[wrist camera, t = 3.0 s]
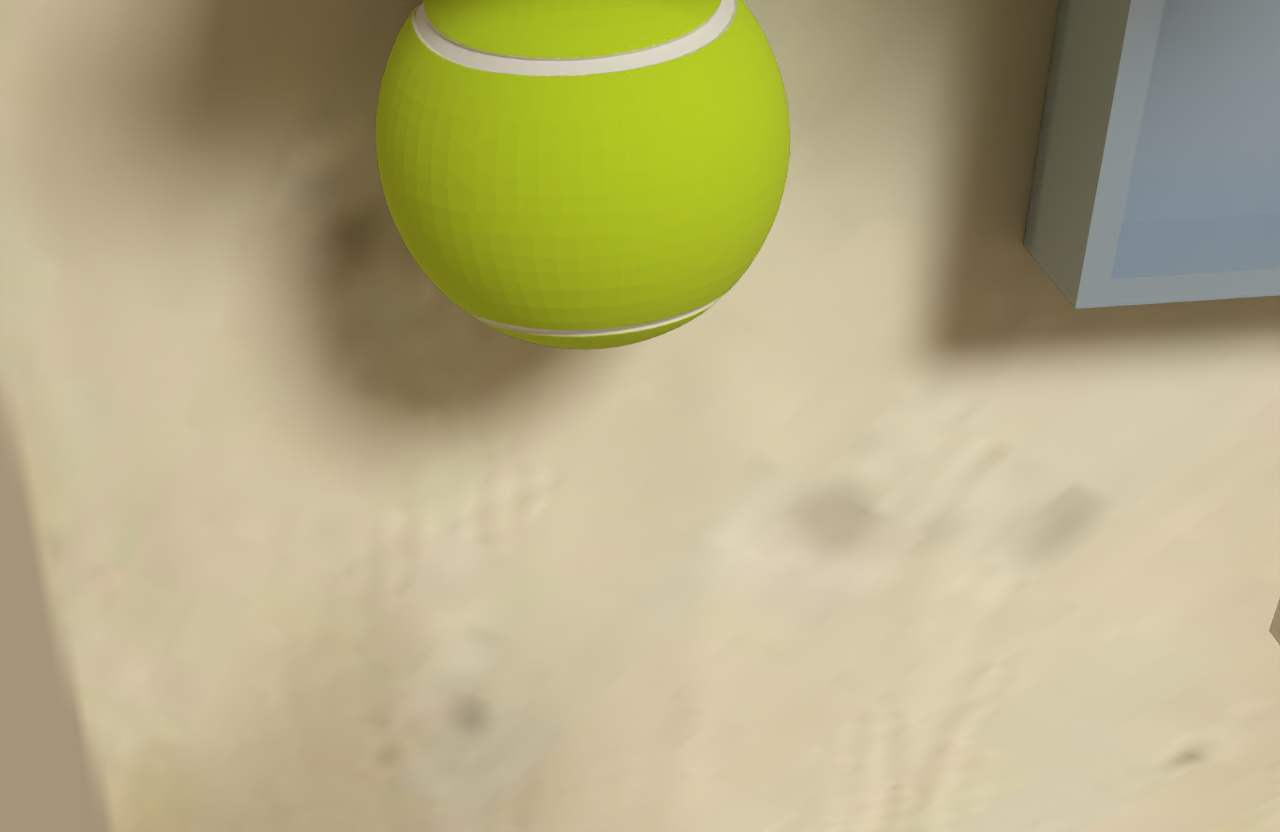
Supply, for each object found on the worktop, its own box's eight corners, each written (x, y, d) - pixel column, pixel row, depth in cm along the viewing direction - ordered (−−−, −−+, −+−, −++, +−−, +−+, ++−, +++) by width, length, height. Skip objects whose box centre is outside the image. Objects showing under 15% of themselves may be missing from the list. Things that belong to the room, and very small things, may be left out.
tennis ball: (753, 234, 25) (818, 410, 20) (425, 256, 25) (389, 442, 19) (758, -121, 22) (839, -36, 16) (370, -100, 21) (306, -5, 15)
